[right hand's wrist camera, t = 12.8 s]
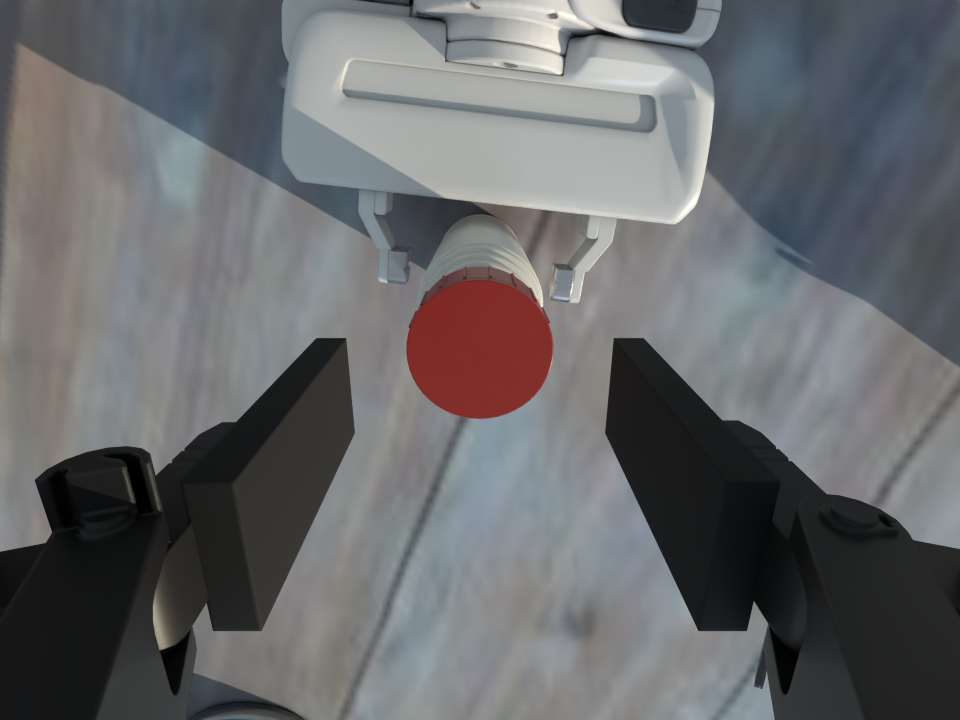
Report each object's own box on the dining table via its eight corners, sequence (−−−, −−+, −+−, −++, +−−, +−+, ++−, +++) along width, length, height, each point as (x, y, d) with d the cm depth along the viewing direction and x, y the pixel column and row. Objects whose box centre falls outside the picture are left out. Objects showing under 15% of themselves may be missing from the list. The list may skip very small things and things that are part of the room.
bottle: (531, 277, 35) (584, 390, 17) (458, 306, 36) (437, 443, 18) (503, 201, 33) (529, 239, 16) (427, 232, 34) (369, 304, 16)
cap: (564, 364, 19) (575, 390, 17) (444, 408, 20) (440, 439, 17) (519, 243, 18) (524, 254, 15) (391, 295, 18) (379, 313, 16)
